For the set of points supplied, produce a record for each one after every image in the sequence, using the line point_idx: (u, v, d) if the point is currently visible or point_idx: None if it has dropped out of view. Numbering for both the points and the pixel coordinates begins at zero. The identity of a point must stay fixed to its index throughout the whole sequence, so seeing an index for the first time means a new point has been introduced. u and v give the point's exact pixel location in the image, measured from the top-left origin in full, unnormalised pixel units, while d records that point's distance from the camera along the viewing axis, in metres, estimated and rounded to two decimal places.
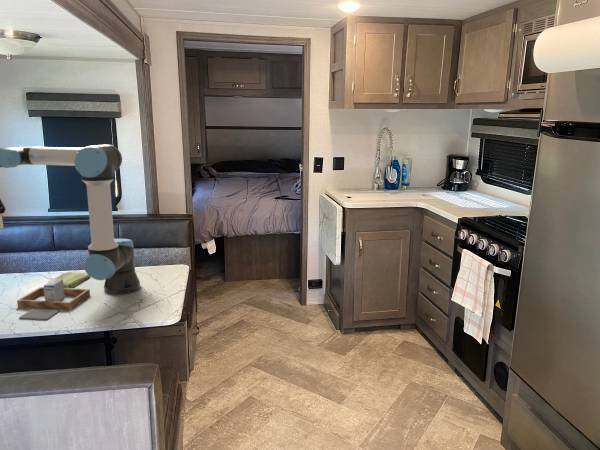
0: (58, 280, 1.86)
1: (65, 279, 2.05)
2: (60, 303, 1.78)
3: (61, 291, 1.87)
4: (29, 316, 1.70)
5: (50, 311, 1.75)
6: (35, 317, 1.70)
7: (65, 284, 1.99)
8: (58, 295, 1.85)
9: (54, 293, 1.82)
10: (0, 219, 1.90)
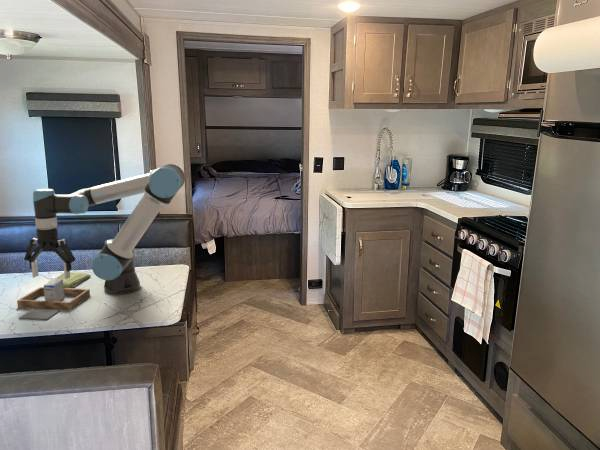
0: (58, 280, 1.86)
1: (65, 279, 2.05)
2: (60, 303, 1.78)
3: (61, 291, 1.87)
4: (29, 316, 1.70)
5: (50, 311, 1.75)
6: (35, 317, 1.70)
7: (66, 284, 1.99)
8: (59, 295, 1.85)
9: (54, 293, 1.82)
10: None
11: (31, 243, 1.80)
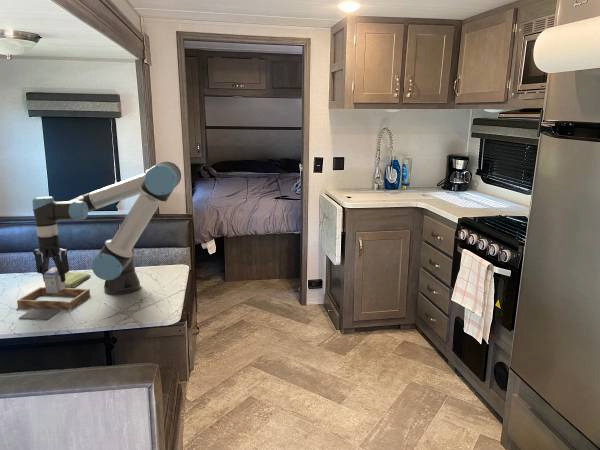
0: None
1: None
2: (60, 303, 1.78)
3: None
4: (29, 316, 1.70)
5: (50, 311, 1.75)
6: (35, 317, 1.70)
7: (66, 284, 1.99)
8: None
9: (54, 281, 1.80)
10: None
11: (35, 254, 1.81)
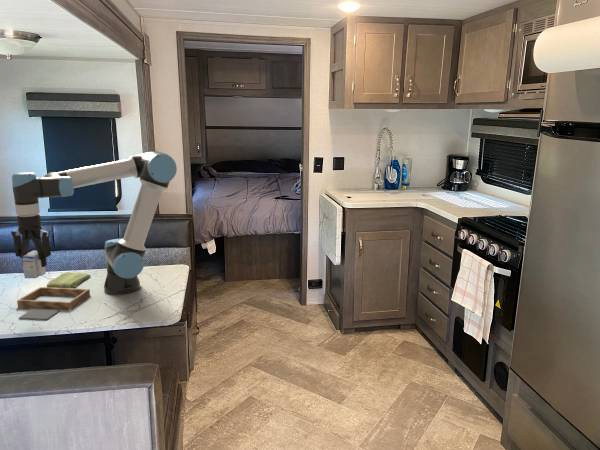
0: None
1: (66, 279, 2.05)
2: (60, 303, 1.78)
3: None
4: (29, 316, 1.70)
5: (50, 311, 1.75)
6: (35, 317, 1.70)
7: (67, 284, 2.00)
8: None
9: (33, 265, 1.65)
10: None
11: (14, 235, 1.65)
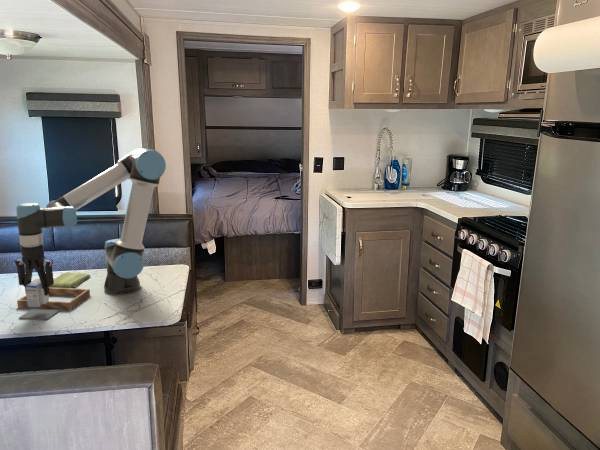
0: None
1: (66, 279, 2.05)
2: (60, 303, 1.78)
3: None
4: (29, 316, 1.70)
5: (50, 311, 1.75)
6: (35, 317, 1.70)
7: (67, 284, 2.00)
8: None
9: (36, 294, 1.68)
10: None
11: (18, 265, 1.68)
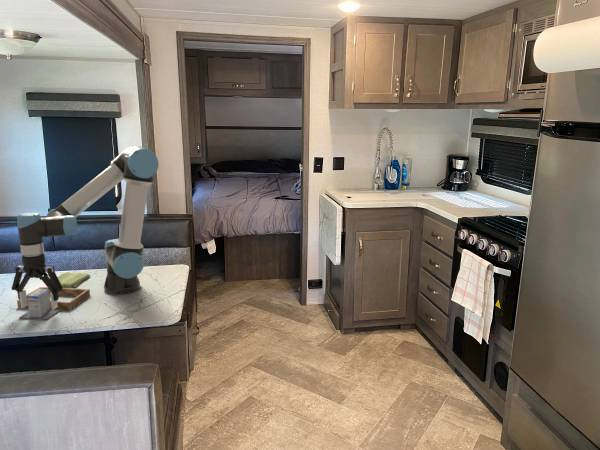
0: (44, 290, 1.74)
1: (66, 279, 2.05)
2: (60, 303, 1.78)
3: (47, 302, 1.74)
4: (29, 316, 1.70)
5: (50, 311, 1.75)
6: (35, 317, 1.70)
7: (67, 284, 2.00)
8: (44, 306, 1.72)
9: (38, 305, 1.69)
10: (51, 299, 1.71)
11: (17, 271, 1.69)
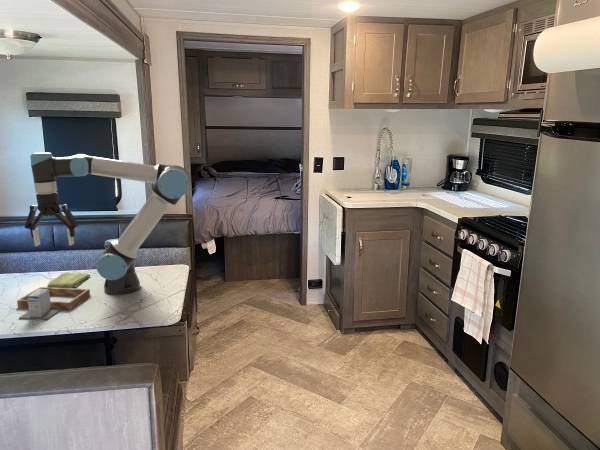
0: (44, 290, 1.74)
1: (66, 279, 2.05)
2: (60, 303, 1.78)
3: (47, 302, 1.74)
4: (29, 316, 1.70)
5: (50, 311, 1.75)
6: (35, 317, 1.70)
7: (68, 284, 2.00)
8: (44, 306, 1.72)
9: (38, 305, 1.69)
10: (68, 235, 1.77)
11: (31, 210, 1.74)
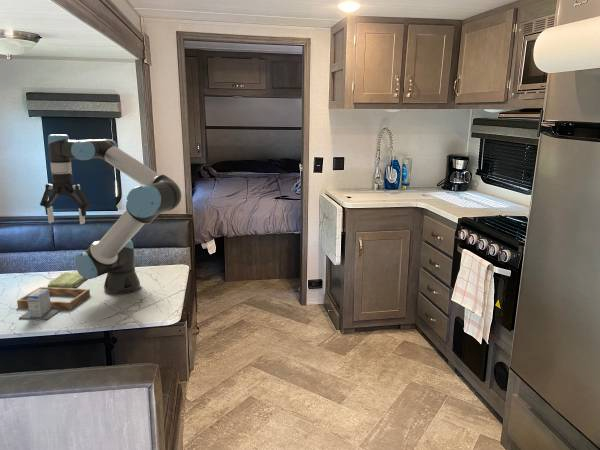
0: (44, 290, 1.74)
1: (66, 279, 2.05)
2: (60, 303, 1.78)
3: (47, 302, 1.74)
4: (29, 316, 1.70)
5: (50, 311, 1.75)
6: (35, 317, 1.70)
7: (68, 284, 2.00)
8: (44, 306, 1.72)
9: (38, 305, 1.69)
10: None
11: (47, 188, 1.83)
